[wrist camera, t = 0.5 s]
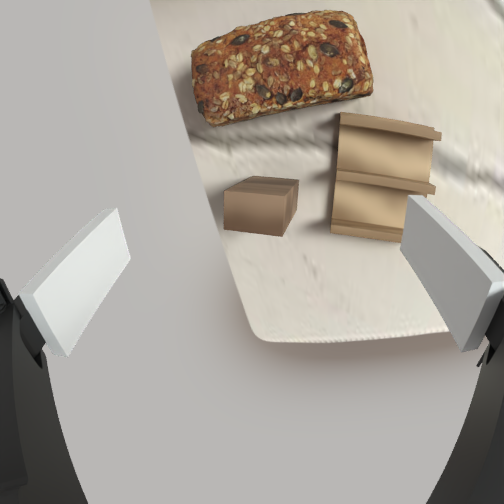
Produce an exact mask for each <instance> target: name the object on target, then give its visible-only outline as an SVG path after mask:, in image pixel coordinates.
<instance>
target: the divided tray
mask: <svg viewBox="0 0 504 504" xmlns="http://www.w3.org/2000/svg"><path fill="white" fill-rule="evenodd" d="M441 135H442V133H441V132H437V131H434V128H433V127H428V126H424V125H419V124H414V123H409V122H404V121H399V120H393V119H387V118H381V117H375V116H368V115H361V114H353V113H345V112H340V128H339V144H338V157H337V170H336V181H335V191H334V201H333V210H332V219H331V228H330V233H334V234H342V235H349V236H356V237H364V238H371V239H378V240H384V241H391V242H398V243H401V241H402V235H403V229H404V222H405V215H406V208H407V200H408V195H423V196H424V197H425V198H427V194H432V195H435V189H436V186H434V185H432V184H430V183H429V177H430V169H431V160H432V150H433V140H435V141H441Z"/></svg>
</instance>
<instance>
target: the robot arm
mask: <svg viewBox="0 0 504 504" xmlns="http://www.w3.org/2000/svg"><path fill="white" fill-rule="evenodd" d="M400 250H401V252H402V253H403V255H404V256H405V258H406V259H407V261H408V262H409V264H410V265H411V267H412V268H413V270H414V272H415V273H416V275H417V276H418V278H419V279H420V281H421V283H422V284H423V286H424V287H425V289H426V291H427V292H428V294H429V296H430V297H431V299H432V301H433V302H434V304H435V306H436V307H437V309H438V311H439V313H440V314H441V316H442V318H443V320H444V321H445V323H446V325H447V327H448V329H449V330H450V332H451V334H452V336H453V338H454V340H455V342H456V343H457V345H458V347H459V349H460V351H461V352H465V351H470V350H474V349H478V347H479V345H480V344H481V342H482V340H483V338H484V336H485V335H486V337H487V339H488V340H489V342H490V343H489V345H488V346H487V348H486V350H485V352H484V353H483V355H482V357H481V359H480V360H479V362H478V364H477V367H479V366H480V364H481V363H482V366H481V371H480V374H479V378H478V381H477V385H476V388H475V392H474V395H473V398H472V401H471V404H470V407H469V410H468V413H467V416H466V419H465V422H464V424H463V427H462V430H461V432H460V435H459V437H458V440H457V442H456V444H455V447H454V449H453V451H452V454H451V456H450V458H449V461H448V462H447V465H446V467H445V469H444V471H443V473H442V475H441V477H440V479H439V481H438V483H437V485H436V486H435V489H434V490H433V492H432V494H431V496H430V498H429V499H428V501H427V503H426V504H504V270H503V269H502V267H501V266H500V267H499V264H498V263H497V262H496V261H495V260H493V258H492V257H491V256H490V255H489V254H488V253H487V252H486V251H485V250H483V249H482V248H480V247H479V246H477V245H476V244H475V243H474V242H473V241H472V240H471V239H470V238H469V237H468V236H467V235H466V234H465V233H464V232H463V231H462V230H461V229H460V228H459V227H458V226H457V225H456V224H455V223H453V222H452V221H451V220H450V219H449V218H448V217H447V216H446V215H445V214H444V213H442V212H441V211H440V210H439V209H438V208H437V207H436V206H434V205H433V204H432V203H431V202H430V201H429V200H427V199H426V198H425V197H424V196H423V195H408V200H407V208H406V215H405V222H404V229H403V235H402V241H401V247H400ZM130 259H131V257H130V254H129V250H128V247H127V243H126V240H125V236H124V232H123V229H122V225H121V221H120V217H119V213H118V210H117V208H110V209H104V210H102V212H100V213H99V214H98V215H97V216H96V217H94V218H93V219H92V220H91V221H90V222H89V223H88V224H87V225H86V226H84V227H83V228H82V229H81V230H80V231H79V232H78V233H77V234H76V235H75V236H74V237H73V238H72V239H70V241H69V242H67V243H66V244H65V245H64V246H63V247H62V248H61V249H60V250H59V251H58V252H57V253H56V254H55V255H54V256H53V257H52V258H51V259H50V260H49V261H48V262H47V263H46V264H45V265H44V266H43V267H42V268H41V269H40V270H39V271H38V272H37V274H36V275H35V276H34V277H33V278H32V279H31V280H30V281H29V282H28V283H27V284H26V285H25V286H24V288H23V289H22V290H21V291H20V292H19V295H18V296H17V297H16V299H15V300H13V298H12V297H11V295H10V292H9V291H8V288H7V286H6V284H5V282H4V280H3V279H0V504H88V502H87V500H86V497H85V495H84V492H83V490H82V488H81V485H80V483H79V480H78V478H77V475H76V472H75V470H74V467H73V464H72V461H71V458H70V456H69V452H68V449H67V446H66V443H65V439H64V436H63V433H62V429H61V425H60V422H59V418H58V414H57V410H56V406H55V402H54V397H53V393H52V388H51V383H50V378H49V372H48V366H47V360H46V356H45V353H44V352H43V350H42V347H43V346H44V344H45V343H46V344H47V345H48V347H49V349H50V350H51V352H52V353H53V354H54V355H59V356H64V357H68V356H69V354H70V353H71V351H72V349H73V347H74V346H75V344H76V343H77V341H78V339H79V338H80V336H81V334H82V333H83V331H84V329H85V327H86V326H87V324H88V323H89V321H90V320H91V318H92V316H93V315H94V313H95V312H96V310H97V308H98V307H99V305H100V303H101V302H102V301H103V299H104V298H105V296H106V295H107V293H108V291H109V290H110V289H111V287H112V286H113V284H114V283H115V281H116V280H117V278H118V277H119V275H120V274H121V272H122V271H123V269H124V268H125V266H126V265H127V263H128V262H129V261H130Z"/></svg>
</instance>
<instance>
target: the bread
mask: <svg viewBox="0 0 504 504" xmlns="http://www.w3.org/2000/svg"><path fill="white" fill-rule="evenodd" d="M191 57H192V65H191V69H192V79H193V80H192V86H193V87H194V95H195V99H196V103H197V104H198V111H199V113H202V114H203V116H204V117H205V119H206V122H208V123H209V124H210V125H211V126H213V127H216V126H225V125H228V124H231V123H235V122H239V121H246V120H250V119H253V118H256V117H259V116H265V115H270V114H275V113H280V112H284V111H289V110H294V109H299V108H304V107H308V106H315V105H320V104H326V103H333V102H339V101H343V100H350V99H356V98H363V97H366V96H370V95H371V94H372V93H373V75H372V71H371V68H370V63H369V60H368V57H367V51H366V46H365V42H364V39H363V37H362V36H361V35H360V32H359V30H358V27H357V23H356V21H355V20H354V18H353V16H352V15H350V14H348V13H346V12H343V11H332V10H324V11H311V12H308V13H293V14H288V15H285V16H280V17H274V18H272V19H268V20H266V21H261V22H260V23H258V24H255V25H248V26H239V27H236V28H235V29H234V30H233V31H232V32H230V33H228V34H226V35H223V36H221V37H216V38H214V39H212V40H208V41H206V42H204V43H202V44H200V45H199V46H198V48H197V49H195V50H192V53H191Z"/></svg>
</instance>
